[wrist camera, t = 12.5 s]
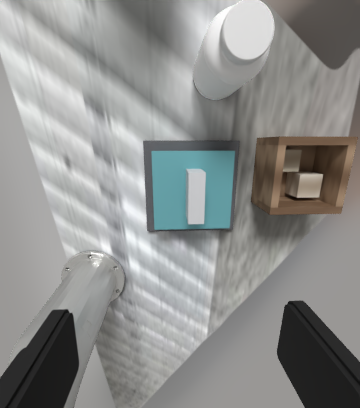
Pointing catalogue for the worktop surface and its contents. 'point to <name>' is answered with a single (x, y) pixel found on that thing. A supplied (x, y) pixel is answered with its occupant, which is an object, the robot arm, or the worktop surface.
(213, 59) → the pill bottle
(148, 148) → the mat
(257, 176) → the crate
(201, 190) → the lid
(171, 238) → the worktop surface
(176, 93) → the worktop surface
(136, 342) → the worktop surface
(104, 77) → the worktop surface
